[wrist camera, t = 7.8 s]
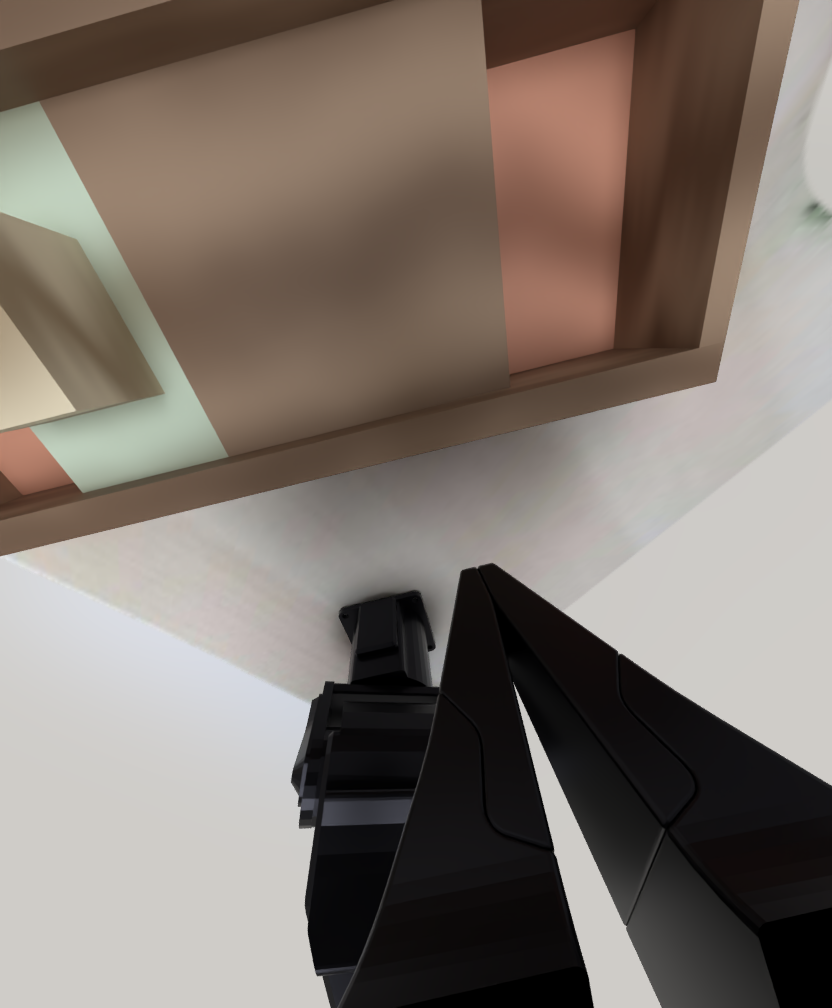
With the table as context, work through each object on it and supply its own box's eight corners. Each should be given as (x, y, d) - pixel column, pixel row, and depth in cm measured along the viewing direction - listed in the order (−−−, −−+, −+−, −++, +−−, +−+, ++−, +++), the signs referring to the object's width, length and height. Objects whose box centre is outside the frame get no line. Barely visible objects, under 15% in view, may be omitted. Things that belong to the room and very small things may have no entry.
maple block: (165, 393, 12) (76, 410, 9) (49, 422, 13) (-84, 451, 9) (77, 239, 10) (-90, 179, 7) (-64, 276, 10) (-301, 237, 7)
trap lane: (624, 372, 18) (715, 381, 13) (34, 518, 18) (-93, 578, 14) (659, -34, 11) (872, -335, 6) (-245, 220, 12) (-676, 132, 7)
